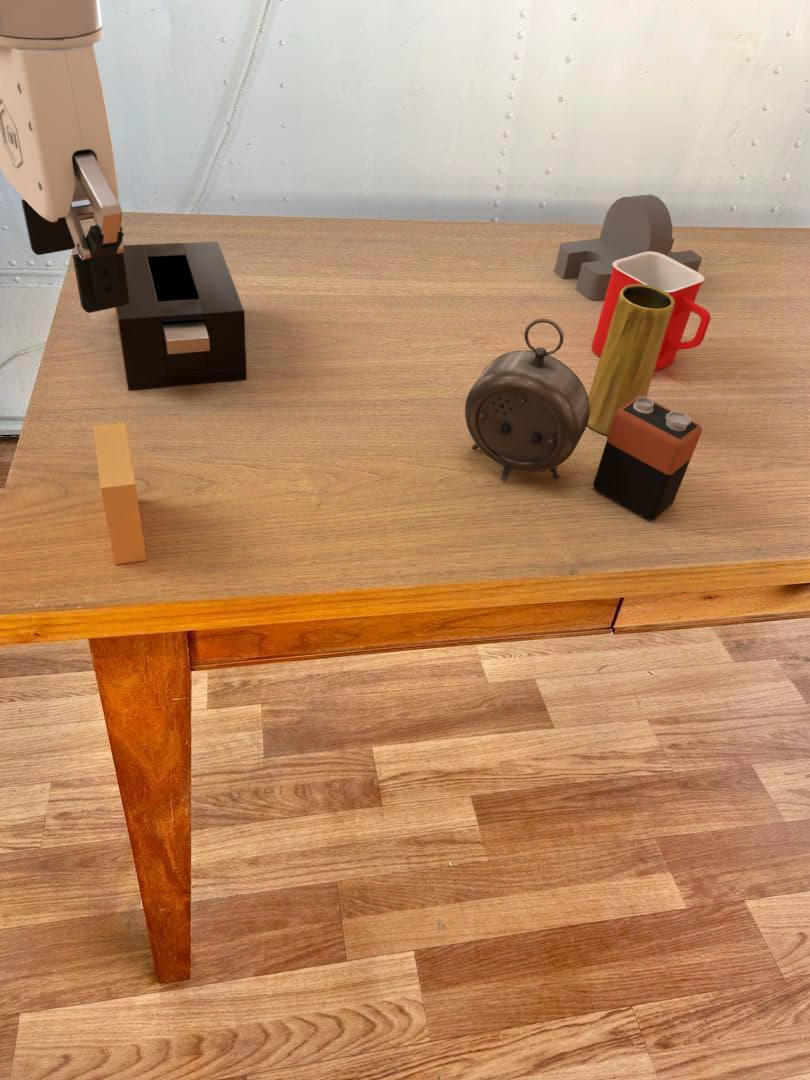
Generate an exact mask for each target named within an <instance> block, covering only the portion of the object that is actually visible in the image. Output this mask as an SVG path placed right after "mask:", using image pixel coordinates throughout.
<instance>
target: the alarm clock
mask: <svg viewBox="0 0 810 1080" xmlns="http://www.w3.org/2000/svg"><path fill="white" fill-rule="evenodd" d="M540 323H541V324H543V323H545V324H549V325H551V326H553V327H554V328H555V329H556V331H557V332H558V335H559V342H558V345H557V346H556V347H555V348H554V349H553V350H550V351H547V349H546V348H545V347H541V346H539V347H537V348H535V347H533V346H532V344H531V342H530V340H529V332H530V330H531V328H532V327H534V326H535V325H537V324H540ZM524 341H525V343H526V346H527V347H528V348H529V349H521V350H520V349H519V350H513V351H509V352H505V353H503V354H501V355H499V356H496V357H495V358H494V359H493V360H491V361H490V362H489V363H488V364H487V365H486V367H485V368H484V369H483V371H482V372H481V374H480V376H478V379H477V380H476V381H475V382H474V384H473V385H472V387H471V388H470V390H469V392H468V394H467V397H466V399H465V406H464V416H465V424H466V427H467V429H468V433H469V435H470V436H471V438H472V440H473V441H474V443H473V444H472V445H471V449H472V450H473V451H477V450H478V449H480V451H481V452H483V454H484V455H486V456H487V457H488V458H490V459H491V460H492V461H494V462H495V463H497V464H499V465H500V466H503V468H502V471H501V475H500V480H501V482H503V483H507V481H508V480H509V477H510V474H511V471H517V472H522V473H523V472H524V473H540V472H546V471H549V472H551V474H552V479H553V480H555V481H558V480H559V479H560V477H561V476H560V474H559V473H558V469H557V468H558V466H560V465H562V464H563V463H564V462H566V461H567V460H568V459H569V458H570V457H571V455H572V454H573V453H574V451H575V450H576V448H577V446H578V444H579V441H580V440H581V438H582V436H583V435H584V433H585V431H586V429H587V426H588V425H587V424H588V421H589V416H590V404H589V398H588V396H589V394H588V393H587V391H586V388H585V386H584V384H583V382H582V381H581V379H580V378H579V376H578V375H577V374H576V372H574V371H573V370H572V369H571V368H570V367H569V366H568V365H567V364H565V362H562V361H561V360H559V359H558V358H556V357H554V356H552V355H553V354H555V353H556V352H558V351H559V350H560V349H561V348H562V345H563V343H564V332H563V330H562V329H561V327H560V325H559V324H558V323H556V322H555V321H554V320H552V319H548V318H538V319H535V320H532V321H531V322H530V323H528V324H527V326H526V327H525V331H524Z"/></svg>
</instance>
